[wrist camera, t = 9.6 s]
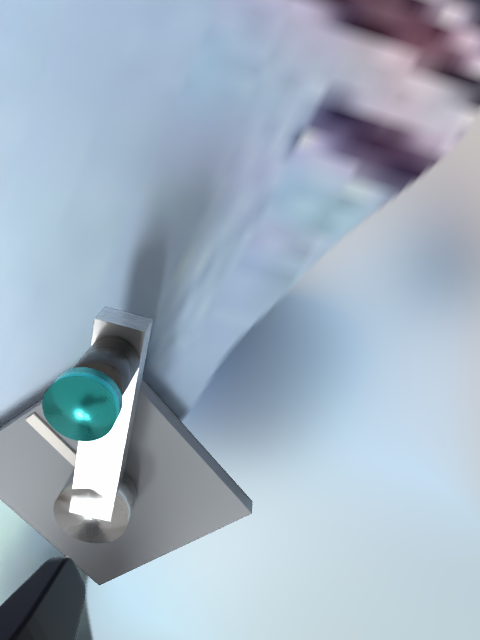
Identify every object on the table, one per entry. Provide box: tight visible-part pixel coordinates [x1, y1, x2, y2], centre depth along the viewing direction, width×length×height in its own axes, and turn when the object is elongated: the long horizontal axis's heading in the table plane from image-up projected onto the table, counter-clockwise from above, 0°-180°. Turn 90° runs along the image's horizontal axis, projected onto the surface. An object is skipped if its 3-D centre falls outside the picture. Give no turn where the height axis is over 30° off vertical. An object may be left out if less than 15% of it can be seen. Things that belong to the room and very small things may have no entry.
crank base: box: [0, 379, 252, 585], centre depth 23 cm, size 11×11×1 cm
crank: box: [42, 307, 153, 543], centre depth 19 cm, size 12×4×5 cm, turn 166°
